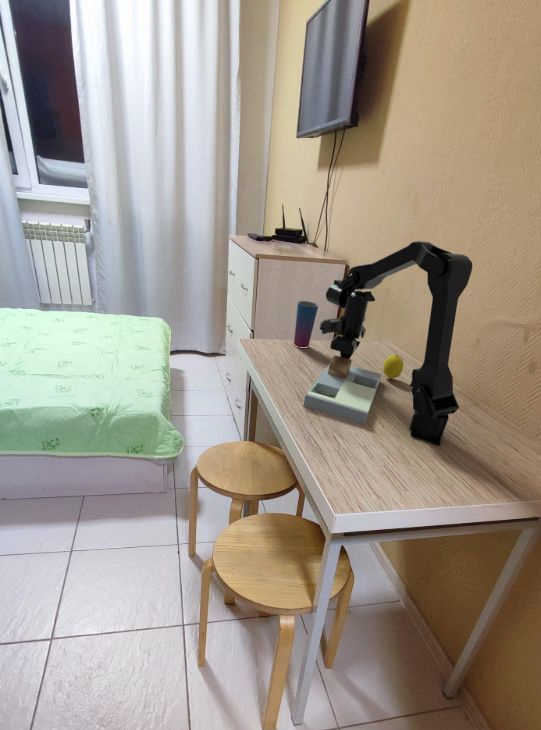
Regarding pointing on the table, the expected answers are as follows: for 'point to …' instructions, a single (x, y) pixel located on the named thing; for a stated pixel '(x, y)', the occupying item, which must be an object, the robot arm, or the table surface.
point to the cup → (304, 322)
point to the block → (339, 366)
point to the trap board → (345, 394)
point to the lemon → (393, 366)
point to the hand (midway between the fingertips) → (343, 364)
